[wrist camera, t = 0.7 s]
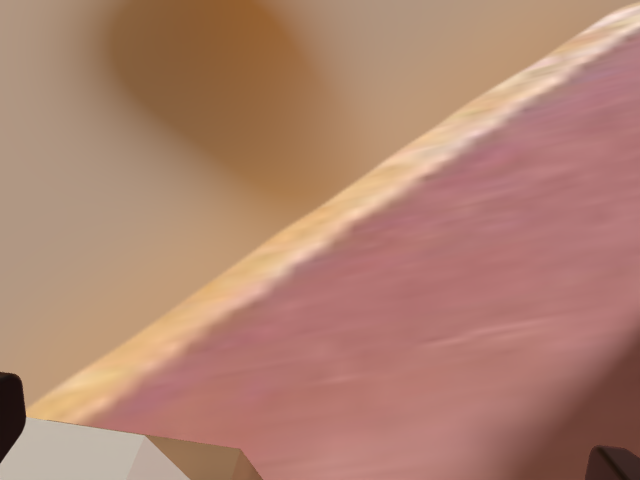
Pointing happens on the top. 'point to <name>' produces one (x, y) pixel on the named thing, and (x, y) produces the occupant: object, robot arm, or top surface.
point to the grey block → (84, 455)
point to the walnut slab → (204, 459)
